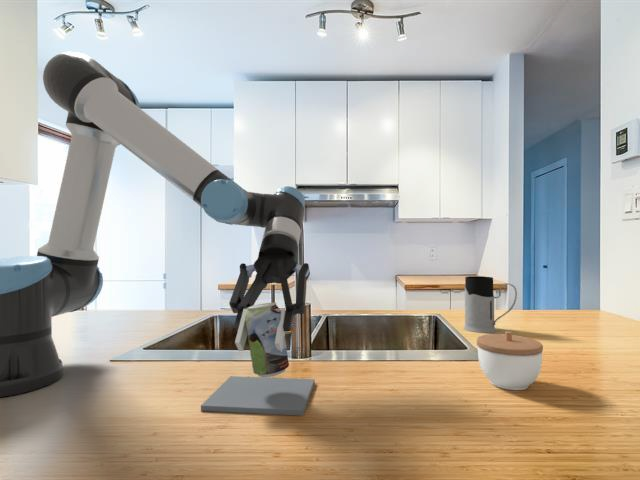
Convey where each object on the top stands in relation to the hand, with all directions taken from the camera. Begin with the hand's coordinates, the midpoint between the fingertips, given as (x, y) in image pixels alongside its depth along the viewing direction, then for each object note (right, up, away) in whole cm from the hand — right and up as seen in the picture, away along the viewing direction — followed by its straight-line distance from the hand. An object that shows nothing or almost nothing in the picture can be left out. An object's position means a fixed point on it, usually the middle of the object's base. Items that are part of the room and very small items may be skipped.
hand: (258, 346), depth 63 cm
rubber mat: (0, -9, +3) cm, 9 cm away
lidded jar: (+44, -9, +7) cm, 46 cm away
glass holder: (+58, -9, +48) cm, 76 cm away
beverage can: (+1, -5, +2) cm, 6 cm away
